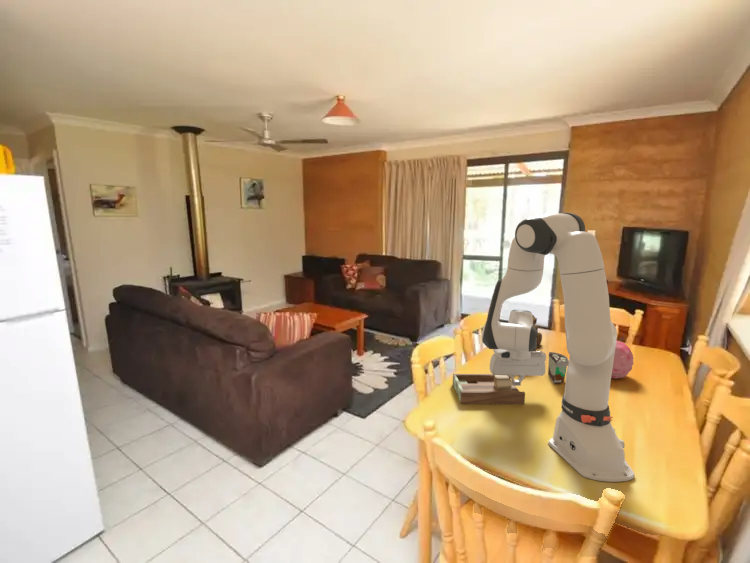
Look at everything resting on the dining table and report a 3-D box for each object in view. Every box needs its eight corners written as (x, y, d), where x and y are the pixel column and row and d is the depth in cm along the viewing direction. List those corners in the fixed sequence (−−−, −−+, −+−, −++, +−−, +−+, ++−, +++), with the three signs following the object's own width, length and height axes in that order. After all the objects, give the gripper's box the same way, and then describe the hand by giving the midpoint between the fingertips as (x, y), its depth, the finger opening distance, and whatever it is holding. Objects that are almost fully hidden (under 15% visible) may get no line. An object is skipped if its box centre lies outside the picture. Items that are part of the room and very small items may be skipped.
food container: (571, 386, 146) (573, 363, 144) (555, 385, 147) (557, 362, 145) (562, 374, 158) (564, 352, 156) (547, 373, 159) (548, 351, 157)
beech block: (511, 390, 137) (511, 381, 136) (497, 390, 137) (498, 380, 136) (506, 384, 142) (507, 375, 141) (493, 384, 142) (494, 375, 141)
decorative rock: (595, 351, 169) (594, 330, 161) (632, 354, 161) (633, 332, 153) (593, 385, 158) (591, 364, 150) (633, 390, 150) (634, 368, 142)
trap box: (524, 404, 132) (525, 392, 131) (461, 403, 132) (461, 392, 132) (509, 384, 148) (509, 374, 147) (452, 384, 148) (453, 373, 147)
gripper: (542, 348, 140) (539, 381, 142) (489, 347, 140) (487, 381, 143) (550, 354, 134) (547, 389, 136) (494, 353, 134) (492, 388, 136)
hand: (516, 385), depth 139 cm, fingers closed
